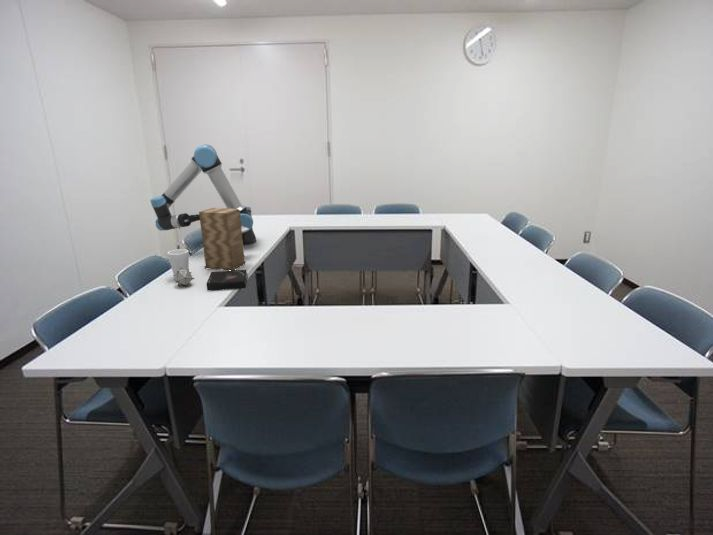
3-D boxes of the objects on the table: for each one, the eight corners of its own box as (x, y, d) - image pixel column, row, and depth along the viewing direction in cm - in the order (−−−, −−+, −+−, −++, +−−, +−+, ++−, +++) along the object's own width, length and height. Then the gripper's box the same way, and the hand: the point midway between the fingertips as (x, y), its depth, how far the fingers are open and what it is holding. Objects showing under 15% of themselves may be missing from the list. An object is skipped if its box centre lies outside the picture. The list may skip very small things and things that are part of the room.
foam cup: (184, 281, 193) (180, 255, 189) (167, 279, 195) (163, 254, 191) (195, 274, 202) (192, 249, 198) (179, 273, 204) (175, 248, 199)
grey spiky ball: (183, 291, 190) (177, 272, 192) (199, 285, 190) (194, 266, 192) (172, 289, 181) (167, 269, 183) (189, 282, 181) (184, 262, 183)
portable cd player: (246, 289, 185) (245, 280, 183) (207, 291, 181) (206, 283, 180) (248, 277, 200) (247, 269, 199) (212, 279, 197) (211, 271, 195)
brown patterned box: (204, 268, 211) (197, 212, 201) (218, 261, 223) (212, 207, 213) (233, 270, 207) (227, 213, 198) (245, 263, 219) (240, 209, 209)
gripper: (191, 224, 238) (226, 217, 232) (174, 230, 223) (210, 223, 217) (187, 211, 236) (222, 205, 230) (170, 217, 221) (206, 209, 215)
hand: (216, 214), depth 224 cm, fingers closed on turner, 3 cm apart
